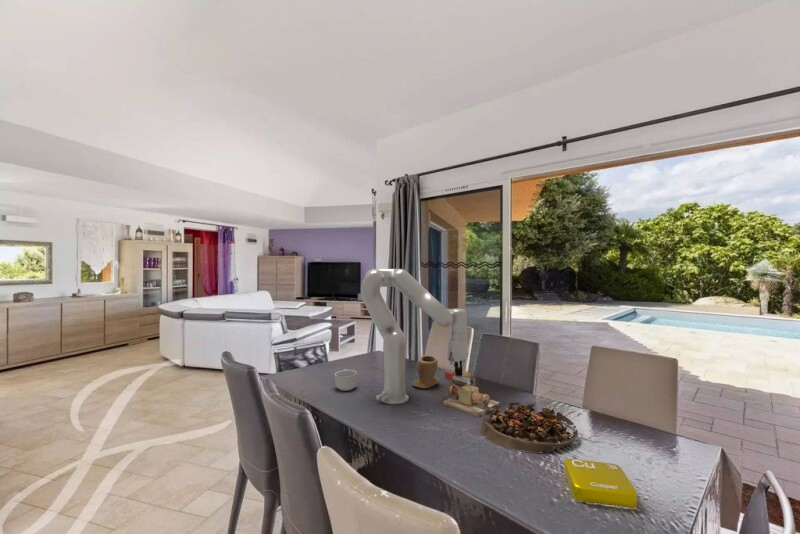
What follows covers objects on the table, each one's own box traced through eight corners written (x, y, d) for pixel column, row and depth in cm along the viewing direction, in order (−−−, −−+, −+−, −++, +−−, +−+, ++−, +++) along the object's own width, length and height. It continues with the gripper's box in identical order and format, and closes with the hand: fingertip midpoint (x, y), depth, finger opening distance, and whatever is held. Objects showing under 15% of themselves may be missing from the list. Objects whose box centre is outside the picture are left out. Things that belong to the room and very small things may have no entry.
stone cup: (427, 392, 176) (427, 361, 176) (408, 386, 185) (408, 356, 184) (446, 384, 187) (446, 355, 187) (428, 379, 196) (428, 351, 195)
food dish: (532, 410, 158) (533, 392, 158) (600, 448, 127) (601, 425, 127) (461, 420, 146) (461, 400, 146) (516, 464, 115) (517, 439, 115)
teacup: (355, 392, 175) (355, 376, 175) (332, 392, 176) (332, 375, 176) (359, 383, 189) (359, 367, 189) (337, 383, 190) (338, 367, 190)
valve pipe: (482, 410, 151) (483, 392, 151) (447, 399, 163) (447, 382, 163) (490, 406, 155) (490, 389, 155) (455, 395, 168) (455, 379, 168)
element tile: (574, 503, 95) (574, 485, 95) (562, 471, 110) (562, 455, 110) (639, 512, 92) (639, 493, 92) (618, 478, 107) (618, 462, 107)
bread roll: (463, 393, 185) (470, 380, 183) (447, 381, 191) (453, 368, 189) (472, 388, 193) (478, 375, 191) (456, 376, 199) (462, 363, 197)
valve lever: (471, 385, 159) (471, 377, 159) (468, 386, 158) (468, 378, 158) (448, 378, 169) (448, 370, 169) (444, 379, 167) (444, 372, 167)
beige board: (478, 416, 149) (478, 412, 149) (443, 404, 161) (443, 401, 161) (499, 405, 160) (499, 402, 160) (464, 395, 173) (464, 392, 173)
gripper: (462, 332, 178) (462, 370, 178) (441, 336, 168) (441, 377, 168) (474, 334, 172) (475, 374, 172) (454, 339, 162) (454, 381, 162)
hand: (458, 375), depth 170 cm, fingers closed
